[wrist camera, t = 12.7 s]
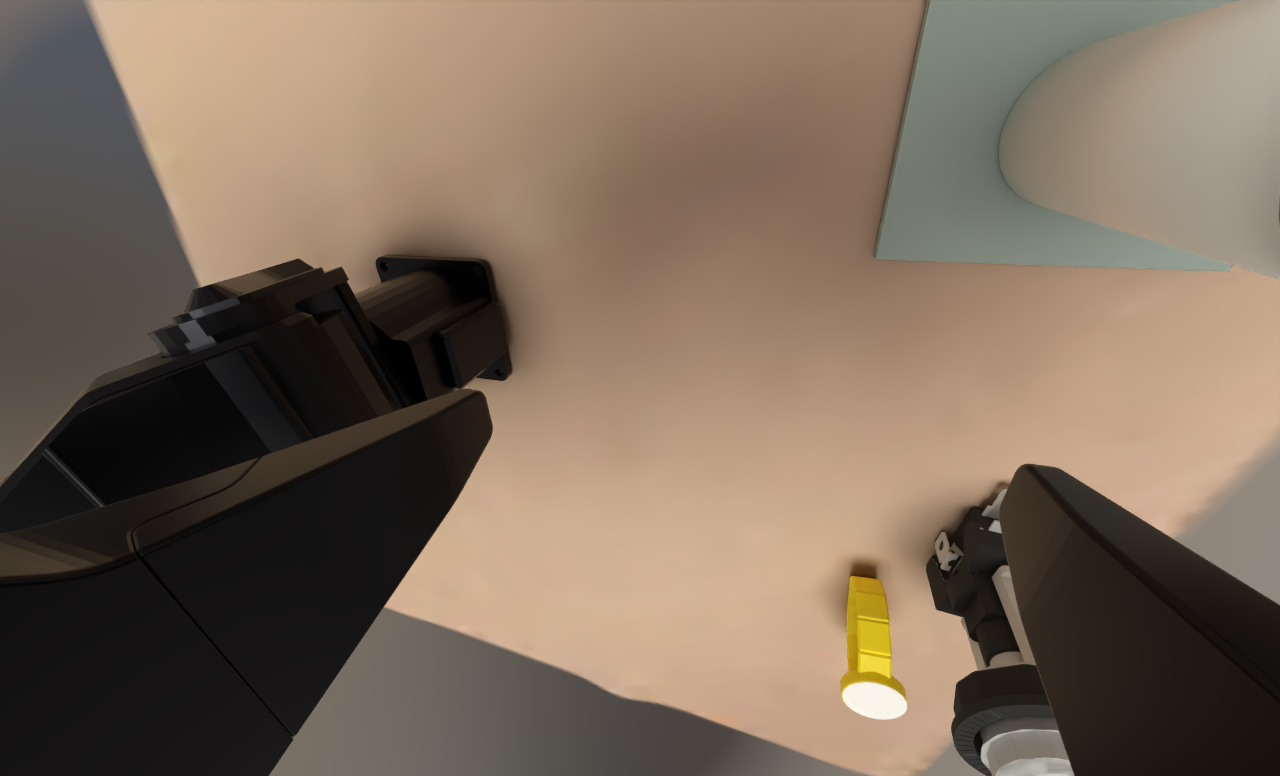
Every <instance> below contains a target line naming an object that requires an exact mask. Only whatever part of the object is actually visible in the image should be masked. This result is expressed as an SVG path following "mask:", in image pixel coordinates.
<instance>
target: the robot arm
mask: <svg viewBox="0 0 1280 776" xmlns="http://www.w3.org/2000/svg"><path fill="white" fill-rule="evenodd" d="M386 264H387V266H388V267H387V266H386ZM376 267H377V270H378V273H379V276H380V279H381V282H382V283H381V284H379V285H376V286H374V287H372V288H369V289H367V290H365V291H362V292H360V293H357V294H355V295H354V293H353V291H352V290H351V288H350V286H349V284H348V282H347V280H349V279H348V277H347V275H346V274H345V272H344V270H343V268H342V267H339V268H335V269H332V270H329V271H325V272H324V271H323V269H322V267H320V268H315V269H314V268H313V267H311V266H310V265H308V264H306V263H305V262H303V261H302V260H300V259H296V260H292V261H289V262H286V263H283V264H279V265H276V266H273V267H269V268H266V269H263V270H259V271H256V272H253V273H249V274H246V275H242V276H239V277H235V278H232V279H228V280H225V281H221V282H218V283H214V284H211V285H208V286H204V287H201V288H198V289H195V290H192V293H191V295H190V298H189V300H188V303H187V305H186V308H185V311H184V313H181V314H178V315H176V316H173V317H171V319H172V321H173V322H174V323H172V324H169V325H167V326H164V327H162V328H159V329H157V330H154V331H152V332H149V333H147V335H148V336H149V337H150V338H151V340H152V341H153V342H154V343H155V345H156V346H157V347H158V348H159V350H160V353H158V354H155V355H152V356H150V357H147V358H144V359H142V360H139V361H136V362H133V363H131V364H129V365H125V366H123V367H120V368H118V369H115V370H112V371H109V372H107V373H104V374H102V375H100V376H98V377H97V378H95V379H94V380H93V381H92V382H90V383H89V385H88V386H87V387H86V388H85V389H84V390H83V391H82V393H80V395H79V396H78V397H77V398H76V399H75V400H74V401H73V403H72V404H71V405H70V406H69V407H68V408H67V409H66V410H65V412H63V414H62V415H61V416H60V417H59V418H58V419H57V420H56V421H55V423H54V424H53V425H52V426H51V427H50V428H49V429H48V430H47V432H46V433H45V434H44V435H43V436H42V437H41V438H40V439H39V441H38V442H37V443H36V444H35V445H34V446H33V447H32V448H31V450H30V451H29V452H28V453H27V454H26V455H25V456H24V457H23V459H22V460H21V461H20V462H19V463H18V464H17V465H16V467H14V469H13V470H12V471H11V472H10V473H8V474H7V475H5V476H3V477H1V478H0V776H269V775H270V773H271V772H272V770H273V769H274V767H275V766H276V764H277V763H278V762H279V760H280V759H281V757H282V756H283V754H284V753H285V751H286V750H287V748H288V747H289V745H290V744H291V743H292V741H293V736H295V735H296V734H297V733H298V732H299V730H300V729H301V727H302V726H303V724H304V723H305V721H306V720H307V718H308V717H309V716H310V714H311V713H312V711H313V710H314V708H315V707H316V705H317V704H318V702H319V701H320V699H321V698H322V697H323V695H324V694H325V692H326V690H327V689H328V687H329V686H330V685H331V683H332V682H333V680H334V679H335V678H336V676H337V675H338V673H339V672H340V670H341V669H342V667H343V666H344V664H345V663H346V661H347V660H348V658H349V657H350V655H351V654H352V652H353V651H354V650H355V648H356V647H357V645H358V644H359V642H360V641H361V639H362V638H363V637H364V635H365V634H366V632H367V631H368V629H369V628H370V626H371V625H372V623H373V622H374V620H375V619H376V617H377V616H378V615H379V613H380V612H381V610H382V609H383V607H384V606H385V604H386V603H387V601H388V600H389V599H390V597H391V596H392V594H393V593H394V591H395V590H396V588H397V587H398V585H399V584H400V582H401V581H402V579H403V578H404V577H405V575H406V574H407V572H408V571H409V569H410V568H411V566H412V565H413V563H414V562H415V560H416V559H417V558H418V556H419V555H420V553H421V552H422V550H423V549H424V547H425V546H426V544H427V543H428V541H429V540H430V539H431V537H432V536H433V534H434V533H435V531H436V530H437V528H438V527H439V525H440V524H441V522H442V521H443V519H444V518H445V517H446V515H447V514H448V512H449V511H450V509H451V508H452V506H453V505H454V503H455V501H456V500H457V498H458V496H459V495H460V493H461V491H462V490H463V488H464V486H465V484H466V482H467V480H468V479H469V477H470V475H471V473H472V471H473V469H474V468H475V466H476V464H477V462H478V460H479V458H480V457H481V455H482V453H483V451H484V449H485V447H486V446H487V444H488V442H489V440H490V438H491V435H492V430H493V426H492V421H491V417H490V413H489V409H488V405H487V400H486V397H485V395H484V394H483V393H482V392H481V391H477V390H470V389H462V388H464V387H465V386H466V385H467V384H468V383H470V382H471V381H472V380H473V379H475V378H483V379H491V380H499V381H504V380H506V379H507V378H508V377H509V376H510V375H511V366H510V361H509V356H508V351H507V350H508V348H507V343H506V338H505V333H504V328H503V323H502V318H501V313H500V308H499V306H498V303H497V298H496V293H495V288H494V283H493V278H492V273H491V269H490V266H489V265H488V263H487V262H485V261H484V260H481V259H466V258H443V257H420V256H398V255H385V256H382V257H379V258H378V259H377V260H376ZM477 267H479V268H480V269H481V271H482V274H480V273H479V272H478V270H477ZM499 369H501V370H502V371H503V373H502V372H501V371H500V370H499ZM457 389H459V390H457ZM455 390H457V391H455ZM999 522H1000V527H1001V532H1002V537H1003V541H1004V546H1005V551H1006V556H1007V560H1008V565H1009V570H1010V575H1011V579H1012V584H1013V589H1014V593H1015V598H1016V603H1017V607H1018V611H1019V615H1020V618H1021V622H1022V625H1023V628H1024V631H1025V634H1026V637H1027V640H1028V643H1029V646H1030V649H1031V652H1032V655H1033V657H1034V660H1035V663H1036V666H1037V669H1038V672H1039V675H1040V678H1041V681H1042V684H1043V686H1044V689H1045V692H1046V695H1047V698H1048V701H1049V704H1050V707H1051V710H1052V713H1053V715H1054V718H1055V721H1056V724H1057V727H1058V730H1059V733H1060V736H1061V739H1062V742H1063V744H1064V747H1065V750H1066V753H1067V756H1068V759H1069V762H1070V765H1071V768H1072V771H1073V773H1074V776H1280V605H1278V604H1277V603H1276V602H1274V601H1272V600H1271V599H1269V598H1267V597H1266V596H1264V595H1263V594H1261V593H1259V592H1258V591H1256V590H1255V589H1253V588H1251V587H1250V586H1248V585H1247V584H1245V583H1243V582H1242V581H1240V580H1238V579H1237V578H1235V577H1234V576H1232V575H1230V574H1229V573H1227V572H1226V571H1224V570H1222V569H1221V568H1219V567H1217V566H1216V565H1214V564H1213V563H1211V562H1209V561H1208V560H1206V559H1205V558H1203V557H1201V556H1200V555H1198V554H1197V553H1195V552H1193V551H1192V550H1190V549H1188V548H1187V547H1185V546H1184V545H1182V544H1180V543H1179V542H1177V541H1176V540H1174V539H1172V538H1171V537H1169V536H1168V535H1166V534H1164V533H1163V532H1161V531H1159V530H1158V529H1156V528H1155V527H1153V526H1151V525H1150V524H1148V523H1147V522H1145V521H1143V520H1142V519H1140V518H1139V517H1137V516H1135V515H1134V514H1132V513H1130V512H1129V511H1127V510H1126V509H1124V508H1122V507H1121V506H1119V505H1118V504H1116V503H1114V502H1113V501H1111V500H1109V499H1108V498H1106V497H1105V496H1103V495H1101V494H1100V493H1098V492H1097V491H1095V490H1093V489H1092V488H1090V487H1089V486H1087V485H1085V484H1084V483H1082V482H1080V481H1079V480H1077V479H1076V478H1074V477H1072V476H1071V475H1069V474H1068V473H1066V472H1064V471H1063V470H1061V469H1059V468H1056V467H1051V466H1043V465H1035V464H1024V465H1021V466H1020V467H1019V468H1018V469H1017V471H1016V472H1015V474H1014V476H1013V479H1012V481H1011V483H1010V485H1009V487H1008V489H1007V491H1006V493H1005V496H1004V498H1003V500H1002V502H1001V505H1000V508H999Z"/></svg>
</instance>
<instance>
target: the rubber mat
mask: <svg viewBox="0 0 1280 776" xmlns="http://www.w3.org/2000/svg"><path fill="white" fill-rule="evenodd" d="M1234 1H1238V0H927V2H926V7H925V12H924V16H923V21H922V26H921V31H920V36H919V40H918V45H917V50H916V55H915V60H914V64H913V69H912V74H911V79H910V84H909V89H908V93H907V98H906V103H905V108H904V113H903V117H902V122H901V127H900V132H899V137H898V142H897V146H896V151H895V156H894V161H893V166H892V170H891V175H890V180H889V185H888V190H887V195H886V199H885V204H884V209H883V214H882V219H881V223H880V228H879V233H878V238H877V243H876V247H875V252H874V256H875V259H877V260H905V261H934V262H962V263H991V264H1020V265H1048V266H1077V267H1105V268H1134V269H1163V270H1191V271H1220V272H1229V271H1230V269H1231V268H1232V266H1233V265H1230V264H1227V263H1223V262H1220V261H1217V260H1214V259H1210V258H1207V257H1204V256H1201V255H1197V254H1194V253H1191V252H1188V251H1184V250H1181V249H1178V248H1175V247H1171V246H1168V245H1165V244H1162V243H1158V242H1155V241H1152V240H1149V239H1145V238H1142V237H1139V236H1136V235H1132V234H1129V233H1126V232H1123V231H1119V230H1116V229H1113V228H1110V227H1106V226H1103V225H1100V224H1097V223H1093V222H1090V221H1087V220H1084V219H1080V218H1077V217H1074V216H1071V215H1067V214H1064V213H1061V212H1058V211H1054V210H1051V209H1048V208H1045V207H1041V206H1038V205H1035V204H1033V203H1030V202H1028V201H1026V200H1024V199H1023V198H1021V197H1019V196H1018V195H1017V194H1016V193H1015V192H1014V191H1013V190H1012V189H1011V188H1010V187H1009V185H1008V184H1007V183H1006V181H1005V179H1004V177H1003V175H1002V171H1001V168H1000V163H999V143H1000V137H1001V133H1002V130H1003V127H1004V124H1005V122H1006V119H1007V117H1008V115H1009V113H1010V111H1011V109H1012V107H1013V106H1014V104H1015V103H1016V101H1017V100H1018V98H1019V97H1020V95H1021V94H1022V93H1023V91H1024V90H1025V89H1026V88H1027V87H1028V85H1029V84H1030V83H1031V82H1032V81H1033V80H1034V79H1035V78H1036V77H1037V76H1038V75H1039V74H1040V73H1042V72H1043V71H1044V70H1045V69H1046V68H1048V67H1049V66H1050V65H1051V64H1053V63H1054V62H1056V61H1057V60H1059V59H1060V58H1062V57H1063V56H1065V55H1067V54H1068V53H1070V52H1072V51H1074V50H1076V49H1078V48H1080V47H1083V46H1085V45H1087V44H1090V43H1093V42H1096V41H1099V40H1102V39H1106V38H1109V37H1113V36H1116V35H1120V34H1123V33H1127V32H1130V31H1134V30H1137V29H1140V28H1144V27H1147V26H1151V25H1154V24H1158V23H1161V22H1165V21H1168V20H1172V19H1175V18H1179V17H1182V16H1186V15H1189V14H1193V13H1196V12H1200V11H1203V10H1206V9H1210V8H1213V7H1217V6H1220V5H1224V4H1227V3H1231V2H1234Z"/></svg>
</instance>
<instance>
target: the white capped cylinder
mask: <svg viewBox="0 0 1280 776" xmlns="http://www.w3.org/2000/svg"><path fill="white" fill-rule="evenodd" d="M999 163H1000V168H1001V171H1002V175H1003V177H1004V179H1005V181H1006V183H1007V184H1008V185H1009V187H1010V188H1011V189H1012V190H1013V191H1014V192H1015V193H1016V194H1017V195H1018V196H1019V197H1021V198H1023V199H1024V200H1026V201H1028V202H1030V203H1033V204H1035V205H1038V206H1041V207H1045V208H1048V209H1051V210H1054V211H1058V212H1061V213H1064V214H1067V215H1071V216H1074V217H1077V218H1080V219H1084V220H1087V221H1090V222H1093V223H1097V224H1100V225H1103V226H1106V227H1110V228H1113V229H1116V230H1119V231H1123V232H1126V233H1129V234H1132V235H1136V236H1139V237H1142V238H1145V239H1149V240H1152V241H1155V242H1158V243H1162V244H1165V245H1168V246H1171V247H1175V248H1178V249H1181V250H1184V251H1188V252H1191V253H1194V254H1197V255H1201V256H1204V257H1207V258H1210V259H1214V260H1217V261H1220V262H1223V263H1227V264H1230V265H1233V266H1236V267H1240V268H1243V269H1246V270H1249V271H1253V272H1256V273H1259V274H1262V275H1265V276H1269V277H1272V278H1275V279H1278V280H1280V0H1238V1H1234V2H1231V3H1227V4H1224V5H1220V6H1217V7H1213V8H1210V9H1206V10H1203V11H1200V12H1196V13H1193V14H1189V15H1186V16H1182V17H1179V18H1175V19H1172V20H1168V21H1165V22H1161V23H1158V24H1154V25H1151V26H1147V27H1144V28H1140V29H1137V30H1134V31H1130V32H1127V33H1123V34H1120V35H1116V36H1113V37H1109V38H1106V39H1102V40H1099V41H1096V42H1093V43H1090V44H1087V45H1085V46H1083V47H1080V48H1078V49H1076V50H1074V51H1072V52H1070V53H1068V54H1067V55H1065V56H1063V57H1062V58H1060V59H1059V60H1057V61H1056V62H1054V63H1053V64H1051V65H1050V66H1049V67H1048V68H1046V69H1045V70H1044V71H1043V72H1042V73H1040V74H1039V75H1038V76H1037V77H1036V78H1035V79H1034V80H1033V81H1032V82H1031V83H1030V84H1029V85H1028V87H1027V88H1026V89H1025V90H1024V91H1023V93H1022V94H1021V95H1020V97H1019V98H1018V100H1017V101H1016V103H1015V104H1014V106H1013V107H1012V109H1011V111H1010V113H1009V115H1008V117H1007V119H1006V122H1005V124H1004V127H1003V130H1002V133H1001V137H1000V143H999Z"/></svg>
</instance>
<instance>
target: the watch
mask: <svg viewBox="0 0 1280 776" xmlns="http://www.w3.org/2000/svg"><path fill="white" fill-rule="evenodd" d="M849 580H850V583H849V593H848V604H847V657H848V671H849V672H847V673H846V674H845V675H844V676H843V677H842V679H841V682H840V684H841V696H842V699H843V701H844V702H845V704H846V705H847V706H848V707H849V708H851V709H852V710H853V711H855V712H857V713H859V714H861V715H863V716H866V717H870V718H874V719H893V718H897V717H900V716H901V715H903V714H904V713H905V711H906V709H907V699H906V694H905V689H904V687H903V686H902V684H901V683H900V682H899V681H898V680H897V679H895V678H894V677H892V658H891V656H890V655H892V652H891V636H890V625H889V614H888V607H887V600H886V595H885V592H884V588H883V585H882V582H881V581H880V580H878V579H872V578H865V577H857V576H851V577H849Z"/></svg>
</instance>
